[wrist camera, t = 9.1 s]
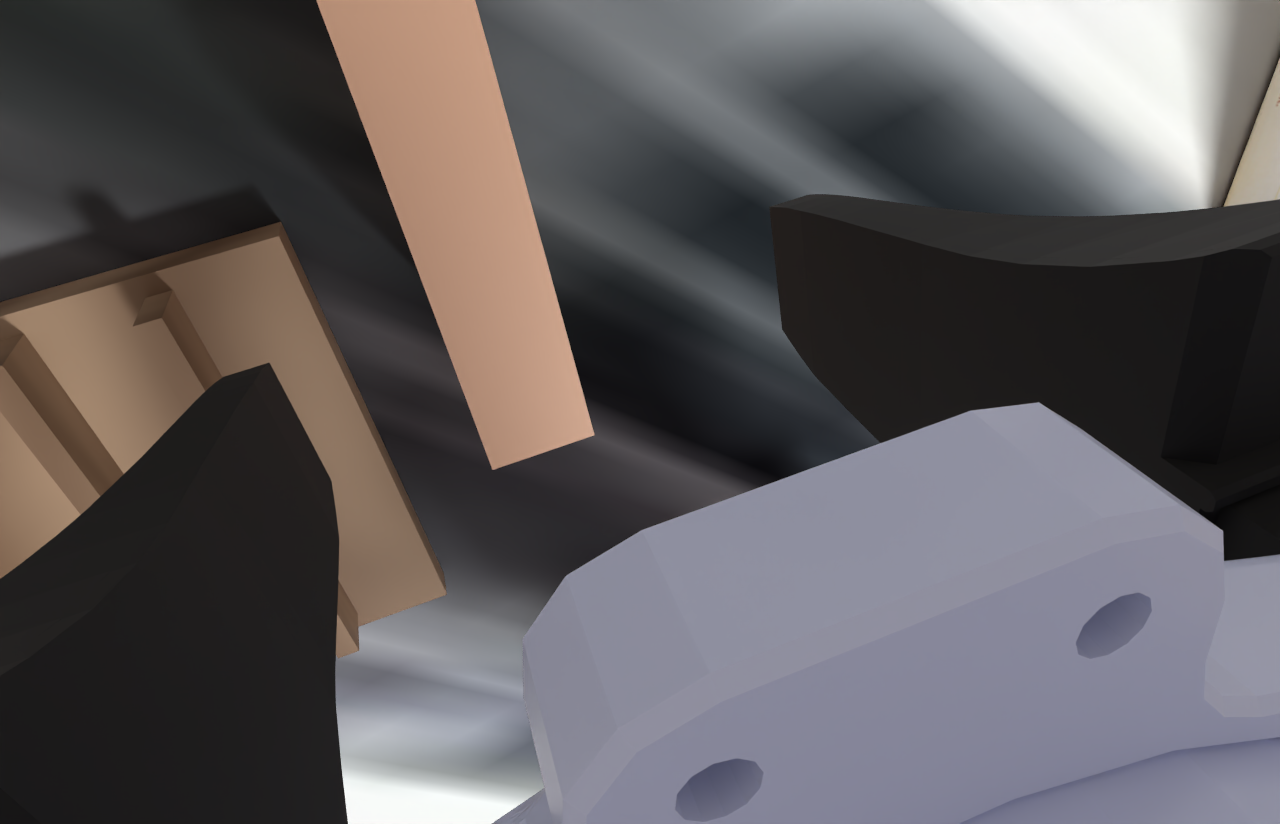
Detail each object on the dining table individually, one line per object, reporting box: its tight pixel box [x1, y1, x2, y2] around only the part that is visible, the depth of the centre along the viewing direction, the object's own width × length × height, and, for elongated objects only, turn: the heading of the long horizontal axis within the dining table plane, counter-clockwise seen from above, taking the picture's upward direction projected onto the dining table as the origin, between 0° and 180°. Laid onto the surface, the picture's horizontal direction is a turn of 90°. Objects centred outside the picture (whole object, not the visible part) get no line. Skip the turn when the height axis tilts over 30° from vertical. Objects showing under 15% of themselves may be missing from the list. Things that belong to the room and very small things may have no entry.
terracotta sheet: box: [316, 0, 594, 470], centre depth 16 cm, size 2×10×8 cm, turn 11°
